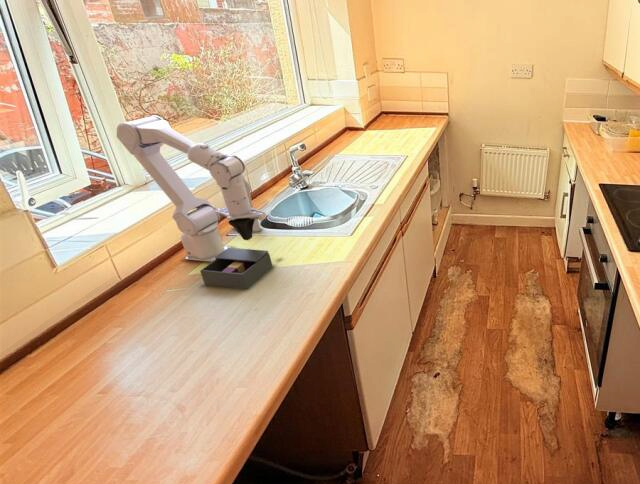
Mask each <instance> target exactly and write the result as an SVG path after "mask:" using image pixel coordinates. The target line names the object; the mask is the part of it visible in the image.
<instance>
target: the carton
mask: <svg viewBox="0 0 640 484" xmlns="http://www.w3.org/2000/svg"><path fill="white" fill-rule="evenodd" d="M235 261H236V260H224V259H216V260H214V261H213V262H209V264H207V265H206V266H204V267H203V268H201V269H200V270H199V272H200V275H201V277H202V281H203V283H204V285H205V286H211V287H222V288H232V289H233V288H234V289H243V290H244V289H245V290H248V289H249V288H250V287H252V286H253V285H254V284H255V283H256V282H258V280H260V278H262V277H263V276H264V275H265V274H267V272H269V271H270V270H271V269H272V268H273V267H274V266H273V262H272V259H271V255H270V252H268V253H266V254H265V255H264V256H263V257H262V258H261V259H259V260H258V261H257V262H251V263H252V266H251V267H250V268H249V269H247V270H246V271H245V272H244V273H243V274H242V273H231V272H221V271H223V270H224V269H225V268H227V267H228V266H229V265H231V264H232V263H233V262H235Z"/></svg>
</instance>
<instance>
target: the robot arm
mask: <svg viewBox="0 0 640 484" xmlns="http://www.w3.org/2000/svg"><path fill="white" fill-rule="evenodd" d="M116 138H117V140H119V142H120V143H121V144H122V145H123V146H124V148H125V149H126V150H127V151H128V153H129V154H130V155H133V156H134V158H135V159H136V161H138V163H139V165H141V166H142V168H143V169H144V170H145V171H146V172H147V173H148V175H149V176H150V177H151V178H152V180H153V181H154V182H155V183H156V184H157V185H158V187H159V188H160V189H161V191H163V193H164V194H165V195H166V196H167V198H168V199H169V200H170V201H171V203H172V204H173V205H174V206H175V209H174V211H173V214H172V216H171V217H172V220H174V221H175V223H176V226H177V228H178V230H179V231H180V232H181V233H182V234H181V237H180V238H181V239H180V240H181V241H180V242H181V244H182V247H183V249H184V252H185V254H186V257H184V259H185V260H187V261H199V262H200V261H201V262H209V263H211V262H213V261H214V260H216V259H215V257H217V256H218V255H219V254H221V253H222V252H223V251H225V250H226V249H228V248H232V246H225V245H224V243H223V240H222V237H221V234H220V230H219V228H218V226H219V225H220V224H219V221H220V220H221V217H225V218H227V220H229V221H228V224H229V225H230V226H231V227H233V229H234V230H235V229H236V230H235V231H237V233H238V234H239V235H240V237H241V238H242V240H243V241H249V240H251V239H252V238H253V232H252V231H253V224H254V221H255V219H258V221H264V220H265V219H267V213H266V211H262V210H259V209H256V208H254V207H253V208H254V209H253V208H251V206H250V202H249V199H248V195H247V191H246V188H245V184H244V181H243V177H244V176H243V177H242V175H243V173H244V172H245V171H246V165H245V163H244V161H243V160H242V159H241V158H240V157H238V156H237V155H234V154H230V155H228V154H224V153H222V152H220V151H219V150H216V149H214V148H213V147H210V145H209V144H207V143H202V142H200V143H196V142H194V141H192V140H190V139H188V138H187V137H185V136H184V135H182V134H181V133H179V132H178V131H176V130H174V129H173V128H172V127H171V124H170V123H169V121H168V120H165V119H164V118H162V117H160V116H159V115H154V114H153V115H150V116H148V117H143V118H139V119H136V120H131V121H127V122H126V121H125V122H120V123H118V125H117V126H116ZM163 145H167V146H169V147H170V148H172V149H174V150H177V151H180V152H181V153H183V154H186V155H187V160H189V161H191V162H192V163H194V164H196V165H198V166H199V167H202V168H203V169H205V170H207V171H209V174H210V176H211V177H212V178H213V179H214V180H215V181H216V184H217V186H218V187H219V188H220V191H221V194H222V197H223V200H224V205H225V206H226V208H224V207H223V208H221V207H220V208H217V207H216V206H215V205H213V204H212V203H211V202H210V201H209V200H208V199H207V198H202V197H197V196H196V195H195V194H194V193H193V192H192V190H191V189H190V188H189V187H188V186H187V184H186V183H185V182H184V181H183V179H182V178H181V177H180V175H179V174H178V173H177V172H176V171H175V169H174V168H173V167H172V166H171V164H170V163H169V162H168V161H167V159H165V157H164V155H162V153H161V147H162V146H163ZM240 174H241V175H240Z"/></svg>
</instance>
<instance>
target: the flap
mask: <svg viewBox="0 0 640 484" xmlns="http://www.w3.org/2000/svg"><path fill="white" fill-rule="evenodd" d="M266 253H269V250H264V249H253V248H252V249H250V248H239V247H231V248H228V249H226V250H225V251H223V252H222V253H221V254H219V255H218V256H217V257H215V259H224V260H236V261H248V262H257V261H258V260H259V259H261V258H262V257H263V256H264V255H265V254H266Z"/></svg>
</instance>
